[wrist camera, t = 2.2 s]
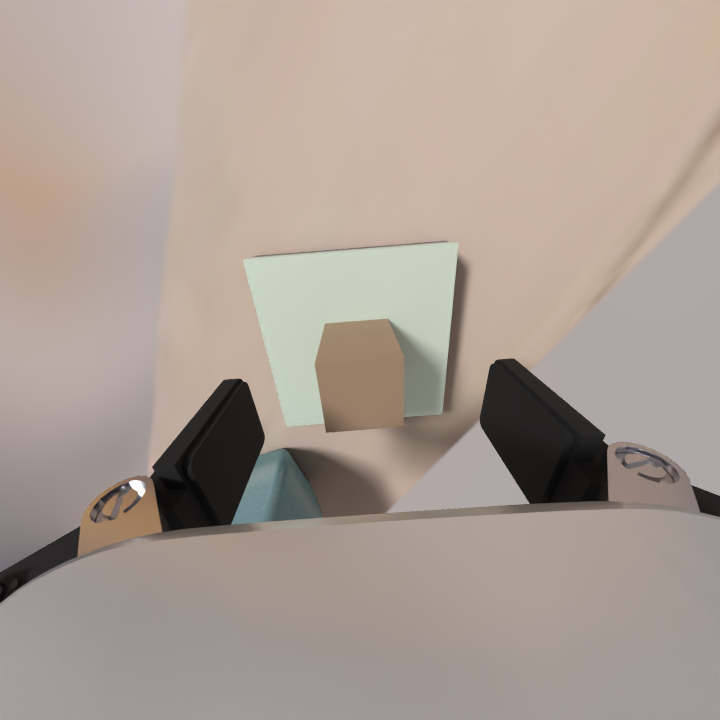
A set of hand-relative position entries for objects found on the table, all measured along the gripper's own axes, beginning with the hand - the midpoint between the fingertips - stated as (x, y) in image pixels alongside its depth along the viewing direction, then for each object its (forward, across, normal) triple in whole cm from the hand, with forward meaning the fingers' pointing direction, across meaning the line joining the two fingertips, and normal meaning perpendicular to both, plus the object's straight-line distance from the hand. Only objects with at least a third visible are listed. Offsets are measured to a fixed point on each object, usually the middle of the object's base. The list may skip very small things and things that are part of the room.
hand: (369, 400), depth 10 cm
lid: (+7, 0, +1) cm, 7 cm away
